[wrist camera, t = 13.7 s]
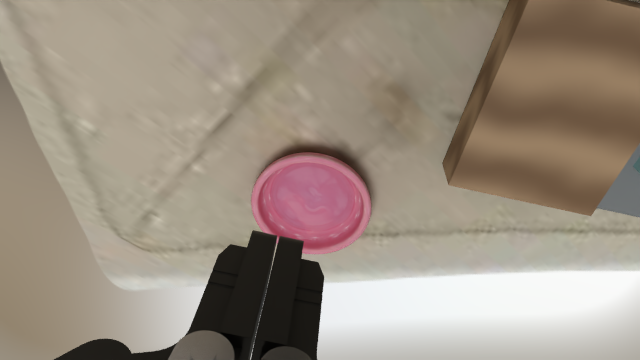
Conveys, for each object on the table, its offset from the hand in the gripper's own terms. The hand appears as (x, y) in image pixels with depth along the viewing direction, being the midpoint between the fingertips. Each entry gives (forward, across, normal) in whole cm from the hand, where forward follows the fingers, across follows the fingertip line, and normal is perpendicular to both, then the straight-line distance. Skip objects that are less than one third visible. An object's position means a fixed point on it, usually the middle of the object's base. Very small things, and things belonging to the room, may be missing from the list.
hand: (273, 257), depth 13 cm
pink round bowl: (+31, -2, +19) cm, 37 cm away
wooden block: (+31, -21, +3) cm, 38 cm away
